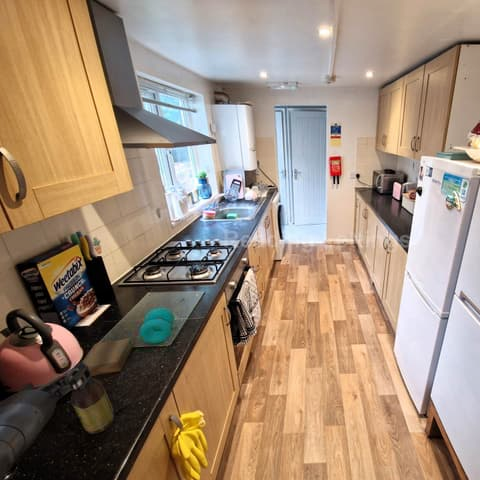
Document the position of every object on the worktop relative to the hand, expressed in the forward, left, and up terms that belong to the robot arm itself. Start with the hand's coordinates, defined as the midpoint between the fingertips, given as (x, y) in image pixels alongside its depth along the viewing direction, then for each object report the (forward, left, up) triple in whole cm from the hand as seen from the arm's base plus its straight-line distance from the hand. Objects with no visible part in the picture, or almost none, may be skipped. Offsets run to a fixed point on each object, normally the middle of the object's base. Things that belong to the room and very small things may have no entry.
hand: (57, 376), depth 56 cm
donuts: (-7, +39, -24) cm, 47 cm away
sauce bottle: (-3, +6, -24) cm, 25 cm away
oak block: (-17, +26, -24) cm, 40 cm away
